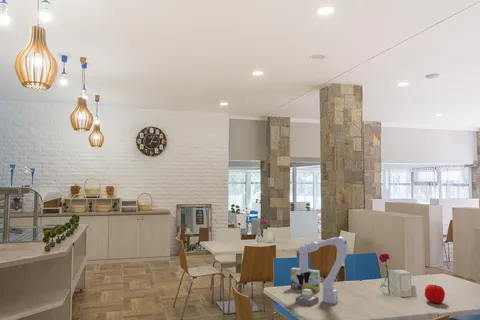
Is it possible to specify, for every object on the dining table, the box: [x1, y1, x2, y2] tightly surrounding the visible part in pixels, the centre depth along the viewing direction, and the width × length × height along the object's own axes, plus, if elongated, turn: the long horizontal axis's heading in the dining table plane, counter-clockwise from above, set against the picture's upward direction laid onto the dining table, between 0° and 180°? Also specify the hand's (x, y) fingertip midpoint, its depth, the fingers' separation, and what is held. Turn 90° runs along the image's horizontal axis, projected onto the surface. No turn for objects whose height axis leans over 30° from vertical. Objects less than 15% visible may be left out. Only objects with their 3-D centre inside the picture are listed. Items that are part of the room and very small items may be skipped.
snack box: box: [290, 267, 321, 293], centre depth 297 cm, size 21×6×15 cm, turn 62°
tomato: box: [424, 284, 446, 304], centre depth 267 cm, size 12×13×12 cm
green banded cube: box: [301, 289, 313, 299], centre depth 262 cm, size 5×5×5 cm
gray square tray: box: [295, 294, 320, 307], centre depth 262 cm, size 11×11×4 cm
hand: (303, 283), depth 271 cm, fingers open, 7 cm apart
